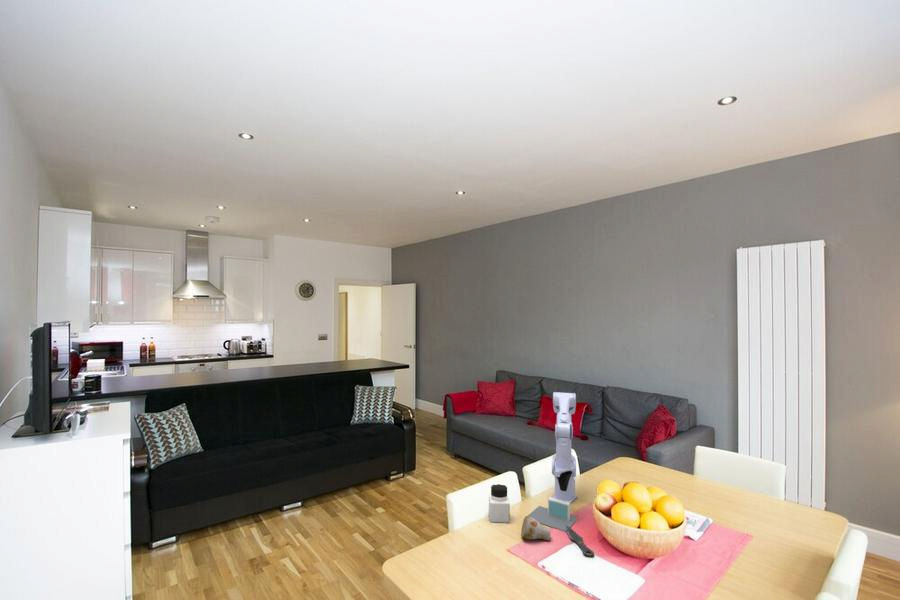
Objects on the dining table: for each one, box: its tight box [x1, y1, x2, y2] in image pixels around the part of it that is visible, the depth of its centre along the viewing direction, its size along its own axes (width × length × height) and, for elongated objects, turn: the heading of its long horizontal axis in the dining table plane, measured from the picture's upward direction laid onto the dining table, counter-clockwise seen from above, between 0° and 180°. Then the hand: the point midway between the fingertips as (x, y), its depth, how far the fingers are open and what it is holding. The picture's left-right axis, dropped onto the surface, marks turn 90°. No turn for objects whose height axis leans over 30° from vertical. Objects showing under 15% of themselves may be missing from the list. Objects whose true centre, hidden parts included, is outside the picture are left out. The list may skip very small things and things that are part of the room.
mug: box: [520, 515, 552, 541], centre depth 144 cm, size 8×10×10 cm
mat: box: [527, 505, 579, 533], centre depth 158 cm, size 13×16×1 cm
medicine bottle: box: [488, 483, 511, 524], centre depth 158 cm, size 7×7×12 cm
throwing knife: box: [565, 525, 595, 558], centre depth 142 cm, size 4×20×1 cm, turn 8°
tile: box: [547, 497, 571, 521], centre depth 158 cm, size 2×8×6 cm, turn 54°
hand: (563, 490), depth 162 cm, fingers closed
